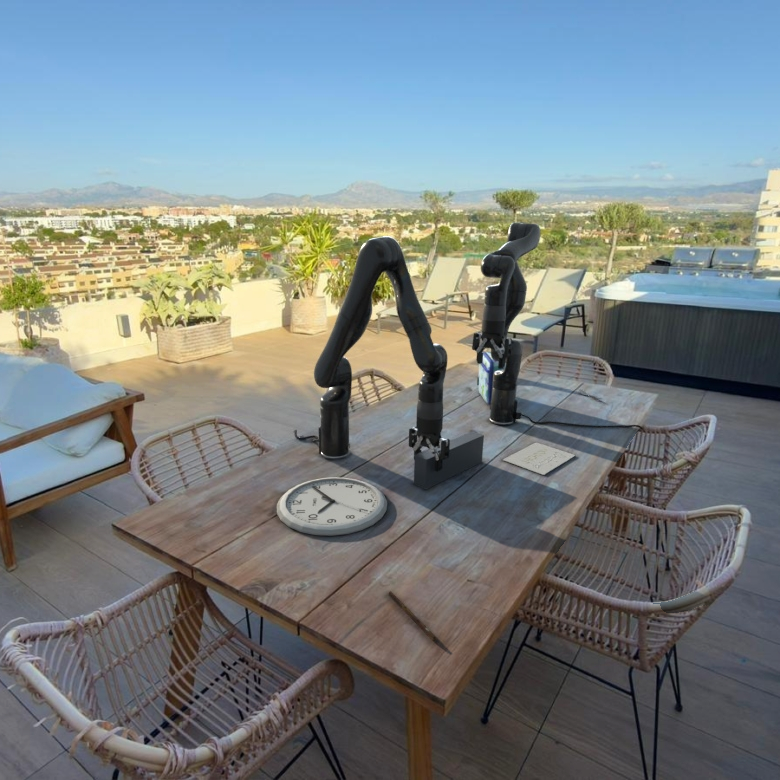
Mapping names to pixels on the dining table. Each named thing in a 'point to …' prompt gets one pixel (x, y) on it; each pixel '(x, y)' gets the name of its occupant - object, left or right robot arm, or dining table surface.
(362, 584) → the dining table surface
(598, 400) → the fork
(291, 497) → the wall clock
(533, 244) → the right robot arm
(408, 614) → the dark brown stick
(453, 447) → the bar
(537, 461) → the invitation card
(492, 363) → the lunch box
